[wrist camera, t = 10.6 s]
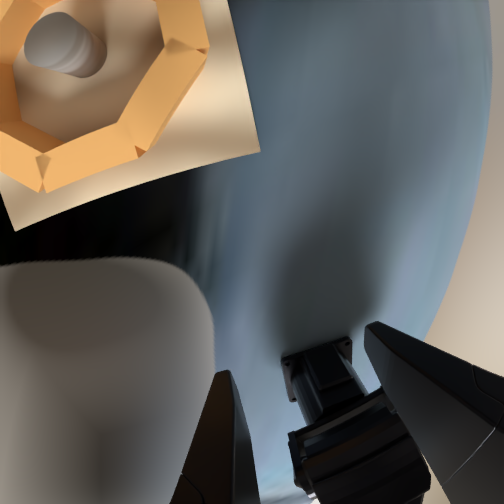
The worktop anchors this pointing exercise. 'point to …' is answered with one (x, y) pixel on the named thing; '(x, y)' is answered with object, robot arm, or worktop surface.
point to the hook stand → (123, 96)
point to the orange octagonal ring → (113, 136)
